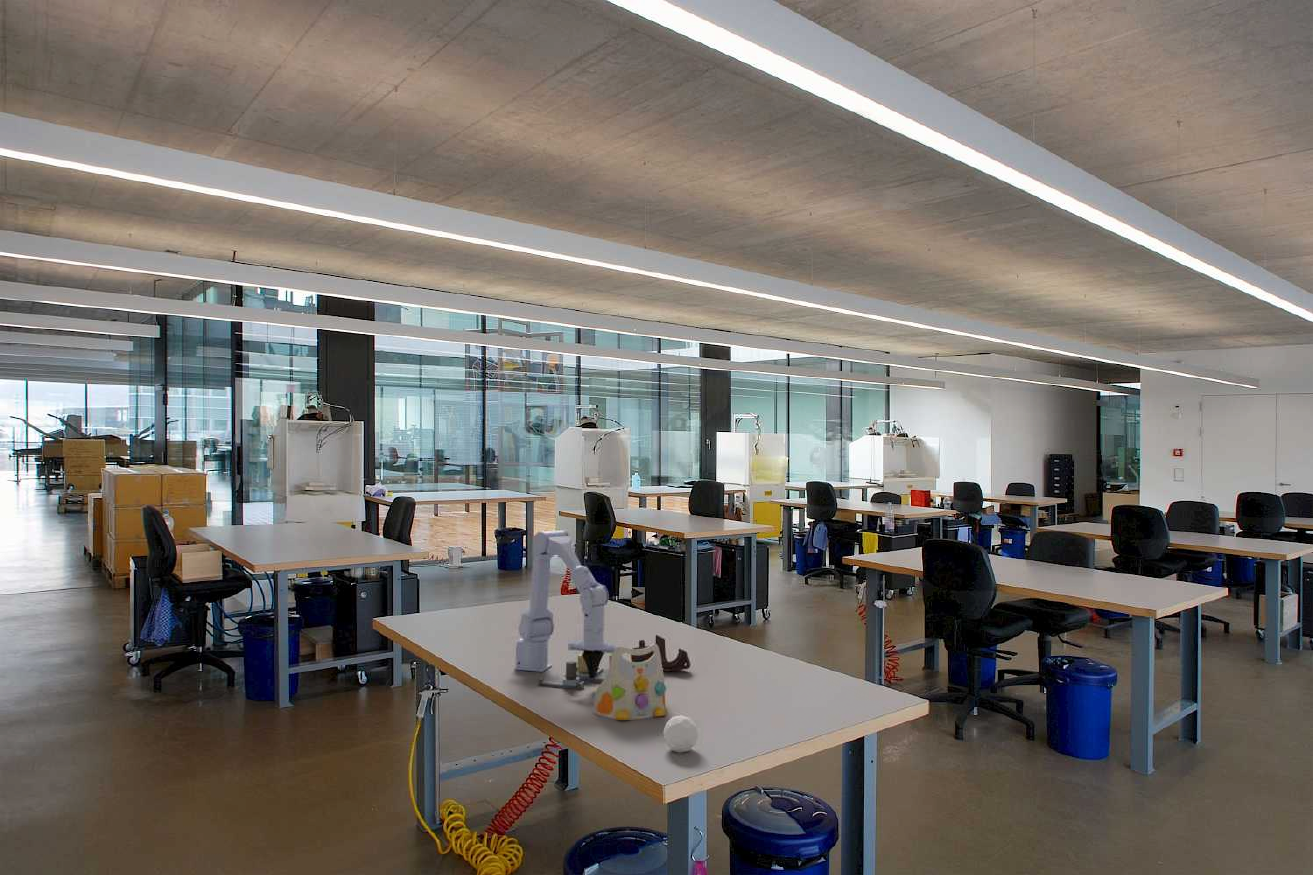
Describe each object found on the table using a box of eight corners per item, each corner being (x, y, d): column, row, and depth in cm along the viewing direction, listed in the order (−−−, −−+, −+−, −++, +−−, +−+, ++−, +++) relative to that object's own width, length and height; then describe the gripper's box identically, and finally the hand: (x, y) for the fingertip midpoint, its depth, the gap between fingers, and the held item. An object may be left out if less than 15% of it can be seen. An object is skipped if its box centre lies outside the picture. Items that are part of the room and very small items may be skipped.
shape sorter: (606, 725, 195) (607, 652, 195) (592, 712, 204) (593, 643, 205) (678, 715, 202) (679, 646, 203) (662, 703, 212) (663, 637, 212)
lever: (562, 684, 224) (562, 663, 224) (566, 681, 227) (566, 660, 227) (575, 685, 223) (576, 664, 223) (579, 682, 226) (580, 661, 226)
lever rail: (538, 685, 226) (538, 679, 226) (541, 683, 229) (541, 677, 229) (581, 689, 223) (581, 683, 223) (584, 687, 225) (584, 681, 225)
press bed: (564, 679, 232) (564, 656, 233) (576, 670, 242) (576, 648, 242) (609, 683, 229) (610, 660, 229) (620, 674, 239) (620, 652, 239)
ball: (683, 766, 176) (679, 745, 172) (658, 744, 181) (654, 723, 177) (706, 743, 180) (703, 722, 176) (681, 722, 185) (678, 702, 181)
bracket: (686, 666, 238) (684, 631, 243) (631, 673, 243) (630, 638, 248) (693, 669, 244) (690, 635, 248) (639, 675, 249) (637, 642, 254)
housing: (577, 674, 234) (577, 651, 234) (582, 670, 238) (582, 648, 238) (591, 675, 233) (592, 652, 233) (596, 671, 237) (597, 649, 237)
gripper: (564, 630, 222) (563, 678, 221) (613, 633, 218) (612, 683, 218) (573, 624, 229) (572, 672, 228) (621, 628, 225) (620, 676, 225)
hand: (592, 677), depth 223 cm, fingers closed
